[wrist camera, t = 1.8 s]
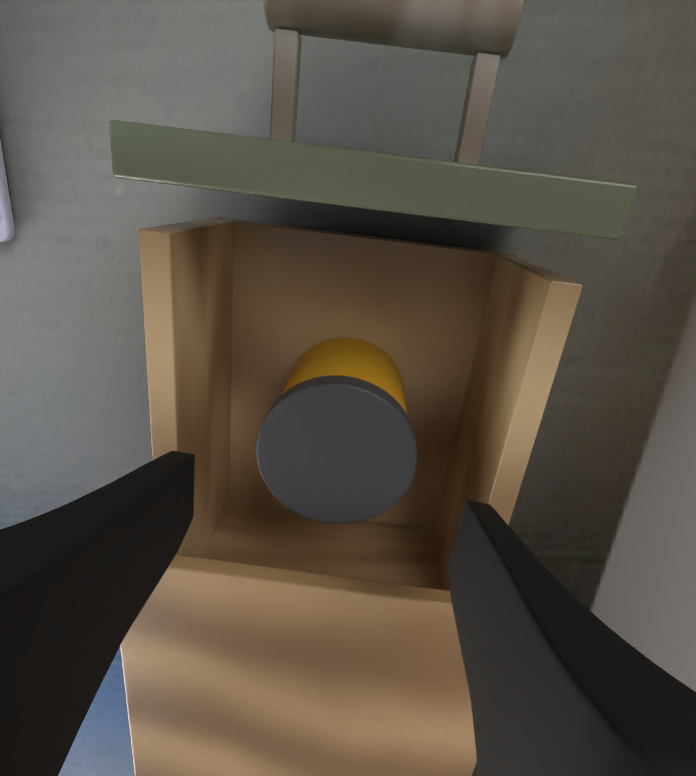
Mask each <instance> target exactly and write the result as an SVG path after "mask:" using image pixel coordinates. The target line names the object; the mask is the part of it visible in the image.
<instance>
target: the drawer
mask: <svg viewBox="0 0 696 776" xmlns="http://www.w3.org/2000/svg"><path fill="white" fill-rule="evenodd" d="M524 3H525V0H264V9H265V16H266V21H267V25H268V28H269V29H270V30H271V31H272V32H275V33H274V57H273V80H272V104H271V128H270V139H264V138H256V137H248V136H240V135H232V134H223V133H215V132H207V131H199V130H191V129H183V128H174V127H166V126H158V125H150V124H142V123H134V122H125V121H117V120H112V121H110V123H109V126H110V139H111V152H112V165H113V174H114V176H115V177H117V178H123V179H131V180H139V181H147V182H155V183H163V184H171V185H179V186H188V187H196V188H204V189H212V190H220V191H228V192H236V193H244V194H252V195H260V196H268V197H276V198H284V199H292V200H301V201H309V202H317V203H325V204H333V205H341V206H349V207H357V208H365V209H373V210H381V211H389V212H397V213H405V214H414V215H422V216H430V217H438V218H446V219H454V220H462V221H470V222H478V223H486V224H494V225H502V226H510V227H518V228H527V229H535V230H543V231H551V232H559V233H567V234H575V235H583V236H591V237H599V238H607V239H615V240H617V239H620V238H621V237H622V234H623V231H624V228H625V225H626V222H627V219H628V216H629V213H630V210H631V207H632V204H633V201H634V198H635V195H636V192H637V187H638V186H637V185H635V184H632V183H623V182H615V181H607V180H599V179H591V178H583V177H574V176H566V175H558V174H550V173H542V172H534V171H525V170H517V169H509V168H501V167H493V166H485V165H479V160H480V156H481V151H482V146H483V141H484V136H485V131H486V126H487V121H488V116H489V111H490V106H491V101H492V96H493V91H494V86H495V81H496V76H497V72H498V67H499V62H500V59H505V58H506V57H507V56H508V54H509V52H510V50H511V48H512V45H513V43H514V40H515V37H516V34H517V31H518V28H519V24H520V20H521V16H522V12H523V8H524ZM300 35H305V36H313V37H322V38H330V39H338V40H347V41H355V42H363V43H372V44H380V45H388V46H397V47H405V48H413V49H422V50H430V51H438V52H447V53H455V54H463V55H472V56H475V57H474V58H473V60H472V65H471V70H470V76H469V81H468V87H467V92H466V98H465V103H464V108H463V114H462V119H461V125H460V130H459V136H458V141H457V147H456V152H455V158H454V162H452V161H444V160H436V159H428V158H419V157H411V156H403V155H395V154H387V153H379V152H370V151H362V150H354V149H346V148H338V147H330V146H321V145H313V144H305V143H297V142H295V137H296V120H297V104H298V88H299V71H300V55H301V37H300ZM139 244H140V260H141V277H142V293H143V310H144V326H145V343H146V359H147V376H148V392H149V409H150V425H151V441H152V458H153V460H154V459H156V458H158V457H160V456H162V455H164V454H166V453H168V452H170V451H178V452H184V453H190V454H195V469H194V515H193V520H192V522H191V524H190V526H189V529H188V531H187V533H186V535H185V538H184V540H183V542H182V544H181V546H180V548H179V550H178V552H177V554H176V555H184V556H191V557H199V558H206V559H214V560H221V561H229V562H236V563H244V564H252V565H259V566H267V567H274V568H282V569H289V570H297V571H304V572H312V573H319V574H327V575H334V576H342V577H349V578H357V579H364V580H372V581H379V582H387V583H394V584H402V585H409V586H417V587H424V588H432V589H440V590H447V591H450V580H449V563H448V561H449V557H450V554H451V551H452V547H453V544H454V541H455V537H456V534H457V530H458V527H459V524H460V520H461V517H462V514H463V510H464V507H465V504H466V500H468V501H474V502H480V503H486V504H490V505H491V506H492V507H493V508H494V509H495V510H496V511H497V513H498V514H499V515H500V516H501V517H502V518H503V520H504V521H505V522H506V523H507V524H508V525H509V522H510V519H511V516H512V512H513V509H514V506H515V503H516V499H517V496H518V493H519V490H520V487H521V483H522V480H523V477H524V474H525V470H526V467H527V464H528V461H529V458H530V454H531V451H532V448H533V445H534V442H535V438H536V435H537V432H538V429H539V425H540V422H541V419H542V416H543V413H544V409H545V406H546V403H547V400H548V396H549V393H550V390H551V387H552V384H553V380H554V377H555V374H556V371H557V368H558V364H559V361H560V358H561V355H562V351H563V348H564V345H565V342H566V339H567V335H568V332H569V329H570V326H571V322H572V319H573V316H574V313H575V310H576V306H577V303H578V300H579V297H580V294H581V290H582V287H583V285H582V284H580V283H578V282H576V281H573V280H571V279H569V278H567V277H564V276H562V275H560V274H558V273H555V272H553V271H551V270H549V269H546V268H544V267H542V266H540V265H537V264H535V263H533V262H530V261H528V260H526V259H524V258H521V257H519V256H517V255H515V254H511V253H503V252H495V251H487V250H479V249H470V248H462V247H454V246H446V245H438V244H430V243H422V242H414V241H406V240H398V239H390V238H382V237H374V236H366V235H358V234H350V233H342V232H334V231H326V230H318V229H310V228H302V227H294V226H286V225H278V224H270V223H262V222H254V221H246V220H238V219H230V218H222V217H218V218H211V219H205V220H198V221H191V222H184V223H177V224H170V225H163V226H157V227H150V228H143V229H139ZM344 337H346V338H356V339H361V340H364V341H367V342H370V343H372V344H374V345H376V346H377V347H379V348H380V349H382V350H383V351H384V352H385V353H387V354H388V355H389V356H390V358H391V359H392V360H393V361H394V363H395V364H396V366H397V367H398V369H399V371H400V374H401V377H402V380H403V386H404V393H405V401H406V408H407V415H408V417H409V419H410V421H411V424H412V427H413V430H414V434H415V439H416V446H417V466H416V471H415V475H414V478H413V480H412V482H411V484H410V486H409V488H408V489H407V491H406V493H405V494H404V495H403V496H402V497H401V499H400V500H399V501H398V502H397V503H396V504H395V505H393V506H392V507H391V508H390V509H388V510H387V511H385V512H384V513H382V514H380V515H378V516H376V517H373V518H371V519H368V520H365V521H361V522H357V523H349V524H331V523H324V522H319V521H315V520H312V519H309V518H306V517H304V516H301V515H299V514H297V513H296V512H294V511H292V510H290V509H289V508H288V507H286V506H285V505H283V504H282V503H281V502H280V501H279V500H278V499H277V498H276V497H275V496H274V495H273V494H272V493H271V491H270V490H269V488H268V487H267V485H266V484H265V482H264V480H263V478H262V476H261V473H260V471H259V468H258V464H257V458H256V442H257V436H258V433H259V429H260V427H261V425H262V422H263V420H264V418H265V416H266V414H267V412H268V411H269V409H270V408H271V406H272V405H273V403H274V402H275V401H276V400H277V399H278V398H279V397H280V396H281V395H282V393H283V391H284V388H285V386H286V384H287V382H288V380H289V378H290V376H291V374H292V372H293V370H294V368H295V366H296V364H297V362H298V361H299V359H300V358H301V357H302V356H303V355H304V354H305V353H306V352H307V351H308V350H309V349H311V348H312V347H314V346H315V345H317V344H319V343H321V342H323V341H326V340H329V339H334V338H344Z"/></svg>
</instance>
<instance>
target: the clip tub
mask: <svg viewBox="0 0 696 776" xmlns="http://www.w3.org/2000/svg"><path fill="white" fill-rule="evenodd" d="M256 458H257V464H258V468H259V471H260V473H261V476H262V478H263V480H264V482H265V484H266V485H267V487H268V488H269V490H270V491H271V493H272V494H273V495H274V496H275V497H276V498H277V499H278V500H279V501H280V502H281V503H282V504H283V505H285V506H286V507H288V508H289V509H290V510H292V511H294V512H296V513H297V514H299V515H301V516H304V517H306V518H309V519H312V520H315V521H319V522H324V523H331V524H349V523H357V522H361V521H365V520H368V519H371V518H373V517H376V516H378V515H380V514H382V513H384V512H385V511H387V510H388V509H390V508H391V507H392V506H393V505H395V504H396V503H397V502H398V501H399V500H400V499H401V497H402V496H403V495H404V494H405V493H406V491H407V489H408V488H409V486H410V484H411V482H412V480H413V478H414V475H415V471H416V466H417V446H416V439H415V434H414V430H413V427H412V424H411V421H410V419H409V417H408V415H407V408H406V401H405V393H404V386H403V380H402V377H401V374H400V371H399V369H398V367H397V366H396V364H395V363H394V361H393V360H392V359H391V358H390V356H389V355H388V354H387V353H385V352H384V351H383V350H382V349H380V348H379V347H377V346H376V345H374V344H372V343H370V342H367V341H364V340H361V339H356V338H346V337H344V338H334V339H329V340H326V341H323V342H321V343H319V344H317V345H315V346H314V347H312V348H311V349H309V350H308V351H307V352H306V353H305V354H304V355H303V356H302V357H301V358H300V359H299V361H298V362H297V364H296V366H295V368H294V370H293V372H292V374H291V376H290V378H289V380H288V382H287V384H286V386H285V388H284V391H283V393H282V395H281V396H280V397H279V398H278V399H277V400H276V401H275V402H274V403H273V405H272V406H271V408H270V409H269V411H268V412H267V414H266V416H265V418H264V420H263V422H262V425H261V427H260V429H259V433H258V436H257V442H256Z"/></svg>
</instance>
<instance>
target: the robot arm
mask: <svg viewBox="0 0 696 776" xmlns="http://www.w3.org/2000/svg"><path fill="white" fill-rule="evenodd" d="M14 235H15V227H14V221H13V214H12V208H11V202H10V196H9V189H8V183H7V177H6V171H5V164H4V158H3V152H2V146H1V140H0V242H3V241H10V240H11V239H13V237H14ZM194 469H195V454H190V453H184V452H178V451H170V452H168V453H166V454H164V455H162V456H160V457H158V458H156V459H154V460H153V461H151V462H149V463H147V464H145V465H143V466H142V467H140V468H138V469H136V470H134V471H132V472H130V473H129V474H127V475H125V476H123V477H121V478H119V479H117V480H115V481H113V482H112V483H110V484H108V485H106V486H104V487H102V488H100V489H97V490H95V491H93V492H91V493H89V494H87V495H85V496H83V497H81V498H79V499H77V500H74V501H72V502H70V503H68V504H66V505H64V506H61V507H59V508H57V509H54V510H52V511H49V512H47V513H45V514H42V515H39V516H37V517H34V518H32V519H29V520H26V521H24V522H21V523H18V524H16V525H13V526H10V527H7V528H4V529H1V530H0V776H58V774H59V772H60V770H61V768H62V766H63V763H64V761H65V759H66V757H67V755H68V752H69V750H70V748H71V746H72V744H73V741H74V739H75V737H76V735H77V732H78V730H79V728H80V726H81V724H82V722H83V720H84V718H85V716H86V714H87V712H88V709H89V707H90V705H91V703H92V701H93V699H94V697H95V695H96V693H97V691H98V689H99V686H100V684H101V682H102V680H103V678H104V676H105V675H106V673H107V671H108V669H109V667H110V665H111V663H112V661H113V659H114V657H115V655H116V653H117V651H118V649H119V647H120V645H121V643H122V641H123V640H124V638H125V636H126V634H127V633H128V631H129V629H130V627H131V626H132V624H133V623H134V621H135V619H136V618H137V616H138V615H139V613H140V611H141V610H142V608H143V607H144V605H145V603H146V602H147V600H148V599H149V597H150V596H151V594H152V592H153V591H154V589H155V588H156V586H157V584H158V583H159V581H160V580H161V578H162V576H163V575H164V573H165V572H166V570H167V568H168V567H169V565H170V564H171V562H172V560H173V559H174V557H175V555H176V554H177V552H178V550H179V548H180V546H181V544H182V542H183V540H184V538H185V535H186V533H187V531H188V529H189V526H190V524H191V522H192V520H193V515H194ZM448 563H449V580H450V593H451V601H452V607H453V612H454V617H455V622H456V628H457V633H458V638H459V643H460V647H461V652H462V657H463V662H464V667H465V672H466V677H467V682H468V688H469V694H470V700H471V707H472V716H473V726H474V736H475V746H476V756H477V768H478V776H696V692H695V691H693V690H692V689H690V688H689V687H687V686H686V685H684V684H683V683H681V682H679V681H678V680H677V679H675V678H674V677H673V676H671V675H670V674H668V673H667V672H666V671H664V670H663V669H662V668H660V667H659V666H657V665H656V664H654V663H653V662H652V661H650V660H649V659H648V658H647V657H645V656H644V655H643V654H641V653H640V652H639V651H638V650H636V649H635V648H634V647H632V646H631V645H630V644H629V643H627V642H626V641H625V640H623V639H622V638H621V637H620V636H618V635H617V634H616V633H615V632H614V631H612V630H611V629H610V628H609V627H608V626H606V625H605V624H604V623H603V622H602V621H601V620H600V619H598V618H597V617H596V616H595V615H594V614H593V613H592V612H591V611H589V610H588V609H587V608H586V607H585V606H584V605H583V604H582V603H581V602H579V601H578V600H577V599H576V598H575V597H574V596H573V595H572V594H571V593H570V592H569V591H568V590H567V589H566V588H565V587H564V586H563V585H562V584H561V583H560V582H559V581H558V580H557V579H556V578H555V577H554V576H553V575H552V574H551V573H550V572H549V571H548V570H547V569H546V567H545V566H544V565H543V564H542V563H541V562H540V561H539V560H538V559H537V558H536V557H535V555H534V554H533V553H532V552H531V551H530V550H529V549H528V548H527V546H526V545H525V544H524V543H523V542H522V541H521V540H520V538H519V537H518V536H517V535H516V534H515V533H514V531H513V530H512V529H511V528H510V527H509V525H508V524H507V523H506V522H505V521H504V520H503V518H502V517H501V516H500V515H499V514H498V513H497V511H496V510H495V509H494V508H493V507H492V506H491V505H490V504H486V503H480V502H474V501H468V500H466V504H465V507H464V510H463V514H462V517H461V520H460V524H459V527H458V530H457V534H456V537H455V541H454V544H453V547H452V551H451V554H450V557H449V561H448Z"/></svg>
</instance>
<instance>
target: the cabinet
mask: <svg viewBox="0 0 696 776" xmlns="http://www.w3.org/2000/svg"><path fill="white" fill-rule="evenodd" d="M120 647H121V656H122V665H123V674H124V682H125V691H126V700H127V709H128V718H129V727H130V735H131V744H132V753H133V762H134V771H135V776H471V775H472V773H473V770H474V767H475V765H476V762H477V756H476V746H475V736H474V726H473V716H472V707H471V700H470V694H469V688H468V682H467V677H466V672H465V667H464V662H463V657H462V652H461V647H460V643H459V638H458V633H457V628H456V622H455V617H454V612H453V607H452V601H451V593H450V591H447V590H440V589H432V588H424V587H417V586H409V585H402V584H394V583H387V582H379V581H372V580H364V579H357V578H349V577H342V576H334V575H327V574H319V573H312V572H304V571H297V570H289V569H282V568H274V567H267V566H259V565H252V564H244V563H236V562H229V561H221V560H214V559H206V558H199V557H191V556H184V555H175V557H174V559H173V560H172V562H171V564H170V565H169V567H168V568H167V570H166V572H165V573H164V575H163V576H162V578H161V580H160V581H159V583H158V584H157V586H156V588H155V589H154V591H153V592H152V594H151V596H150V597H149V599H148V600H147V602H146V603H145V605H144V607H143V608H142V610H141V611H140V613H139V615H138V616H137V618H136V619H135V621H134V623H133V624H132V626H131V627H130V629H129V631H128V633H127V634H126V636H125V638H124V640H123V641H122V643H121V645H120Z"/></svg>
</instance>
